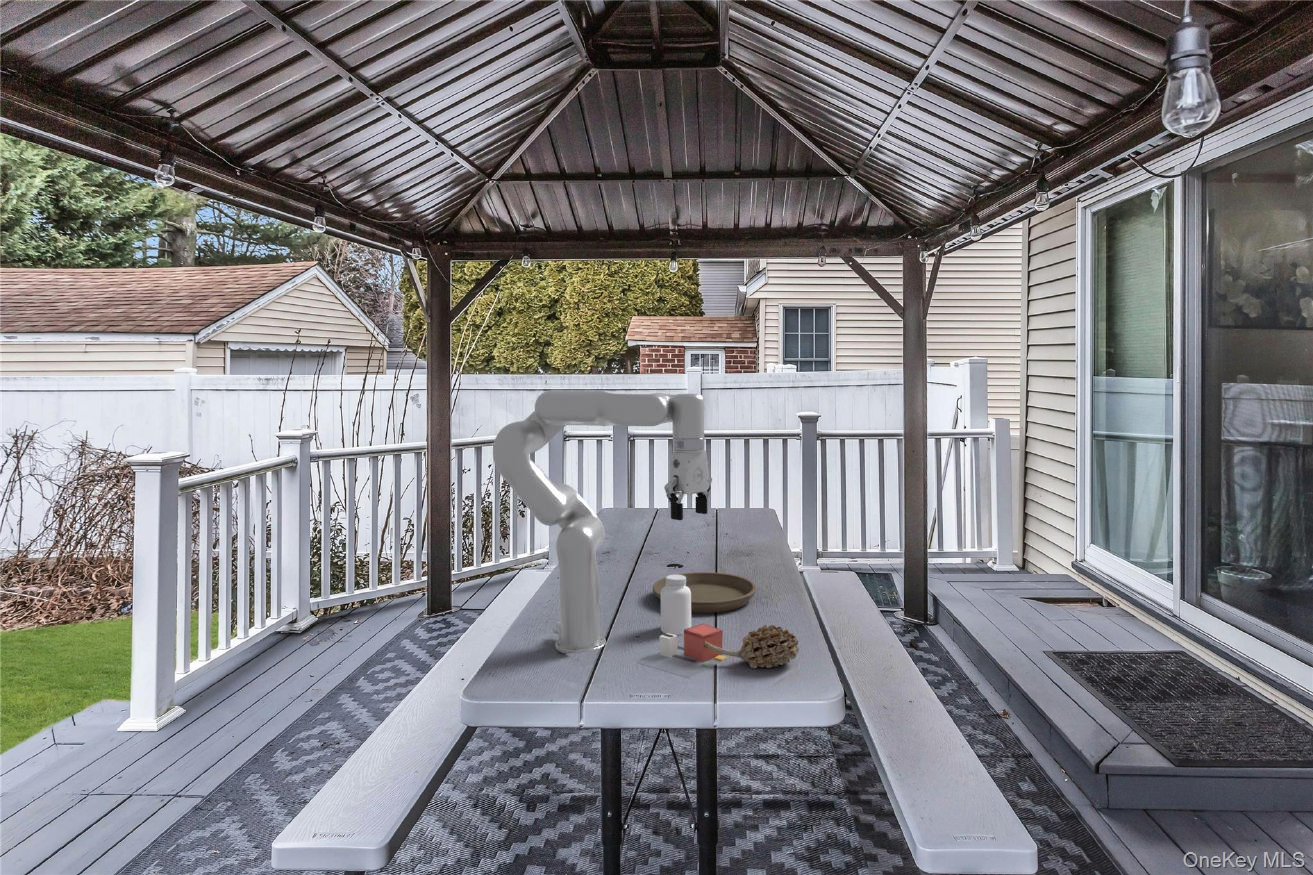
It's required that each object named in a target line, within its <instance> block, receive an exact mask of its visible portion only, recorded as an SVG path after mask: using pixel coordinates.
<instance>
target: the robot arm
mask: <svg viewBox="0 0 1313 875" xmlns="http://www.w3.org/2000/svg"><path fill="white" fill-rule="evenodd" d="M665 423H672V452H671V453H672V454H671V460H670V461H671V462H670V473H669V474H670V478H669V481H668V482H667V483H666V484H664V487H663V488H664V491H665V493H666V498H667V499H668V503H670V519H671V520H673V521H674V520H675V521H683V520H684V503H683V498H684V496H685V495H689V496H690V495H694V494H696V496H695V513H696V514H701V515H706V514H708V498H709V497H710V490H711V488H712V485H711V484H712V482H713V478H712V477H711V476H710V470H709V461H708V456H707V451H706V450H705V402H704V397H703V395H701V394H700V393H678V394H671V393H670V394H669V393H661V392H656V393H611V392H608V391H604V390H564V389H563V390H562V389H555V390H551V389H550V390H546V391H544V392H542V393H541V394H540V395H538V397H537V398H536V400H535V403H534V411H533V412H531V414H530V415H528V416H527V417H526V418H525V419H524V420H520V421H514V422H511V423H509V424H507V425H505V426H504V427H502V428H501V429H500V430H499V432H498V433H497V435H496V436H495V439H494V441H493V445H492V446H493V447H492V457H493V458H492V459H493V462H494V466H495V468H496V469H497V471H498V473H499V475H501V477H502V478H503V479H504V481H505V482H506V483H507V484H508V485H509V487H511V489H512V490H513V491H514V492H515V494H516V496H518V497H519V499H520V500H521V501H522V502H523V504H524V506H526V507H527V508H528V510H529V511H530V513H531V514H532V515H533V516H534V517H535V519H536V520H537V521H538V522H540V524H543V525H544V526H555V525H558V526H559V527H560V528H561V530H559V533H558V535H557V538H556V543H555V544H556V545H555V548H556V549H555V550H556V557H557V561H558V562H557V563H558V570H559V571H558V572H559V573H558V575H559V596H560V598H559V599H560V622H558V623H556V625H555V627H554V628H553V629H552V633H554V634H557V635H558V639H557V641H555V643H554V644H555V646H554V647H555V649H556V650H557V651H558V652H559V653H561V654H564V655H566V654H569V653H584V652H591V651H595V650H598V649H601V648H603V647H604V646H606V643H607V641H606V638H604V637H603V636H602V635H600V634H601V632H600V598H599V594H600V592H599V591H600V590H599V569H598V563H597V556H596V555H597V552H596V551H597V550H598V549H599V548H600V547H601V545H602V544H604V540H605V536H606V529H605V526H604V524H603V522H602V520H601V519H600V517H599V516H598V515H597V514H596V513H595V512H594V510H593V509H592V508H591V507H590V506H589V504H588V503H587V502H586V501H585V499H584V498H583V497H582V496H581V495H580V494H579V493H578V491H576V490H575V489H574V488H573V487H572V486H570V485H568V484H566V483H564V482H563V483H561V482H558V483H557V482H556V483H554V482H553V481H552V480H551V479H550V478H549V477H548V476H547V475H546V474H545V472H544V471H543V469H541V467H540V466H539V465H537V464H536V463H535V462H534V461H533V460H532V459H531V457H530V456H529V455H530V454H533V453H536V452H537V451H539V450H541V449H543V448H544V447H545V446H546V445H548V443H549V442H550V441H551V440H552V439H553V438H554V437H555V436H557V434H559V433H560V432H561V431H562V430H563V429H564V428H565V427H567V426H596V427H598V426H599V427H600V426H601V427H609V426H610V427H611V426H615V427H619V426H620V427H656V426H659V425H662V424H665Z"/></svg>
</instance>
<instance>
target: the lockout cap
mask: <svg viewBox="0 0 1313 875" xmlns="http://www.w3.org/2000/svg"><path fill="white" fill-rule="evenodd" d="M705 641H706V642H707V643H708V642H709V643H710V644H712V645H714V646H717V647H719V648H723V629H720V628H717V627H714V626H712V625H709V624H706V623H701V624H697V625H693V626H691V627H690V628H687V629H684V634H683V642H684V654H685V655H687V656H690V657H693V658H695V659H698V660H700V661H703V662H704V661H707V660H709V659H712V658H715V657H717V656H718V655H722V654H721V653H716V652H714V651H711V650H708V649H707V648H706V646H705V644H704V642H705Z"/></svg>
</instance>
